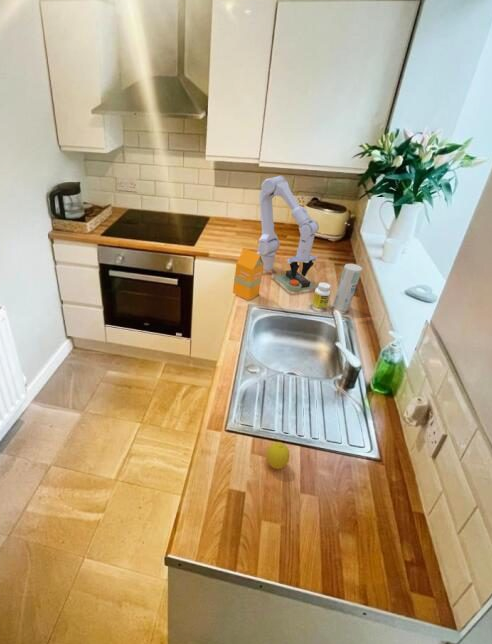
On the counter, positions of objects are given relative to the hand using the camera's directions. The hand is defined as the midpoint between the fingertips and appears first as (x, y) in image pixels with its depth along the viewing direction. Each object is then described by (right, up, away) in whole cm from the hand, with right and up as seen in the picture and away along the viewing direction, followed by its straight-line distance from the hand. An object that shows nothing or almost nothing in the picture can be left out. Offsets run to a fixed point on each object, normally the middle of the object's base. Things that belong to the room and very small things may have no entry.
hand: (298, 276), depth 184 cm
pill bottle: (+4, -15, -16) cm, 22 cm away
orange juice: (-26, -9, -8) cm, 28 cm away
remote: (0, -2, +1) cm, 3 cm away
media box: (-1, -4, +1) cm, 4 cm away
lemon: (-31, -58, -82) cm, 105 cm away
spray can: (+12, -16, -16) cm, 26 cm away
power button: (-4, -5, -5) cm, 8 cm away
